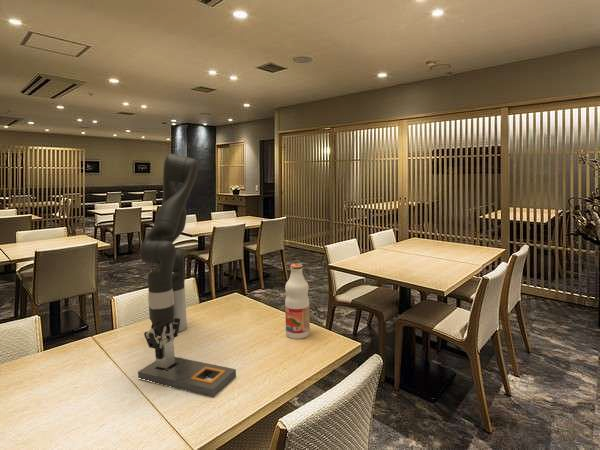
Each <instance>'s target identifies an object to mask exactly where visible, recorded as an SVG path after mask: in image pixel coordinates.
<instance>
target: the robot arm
mask: <svg viewBox="0 0 600 450" xmlns="http://www.w3.org/2000/svg"><path fill="white" fill-rule="evenodd" d="M162 171H163V173H162V174H163V175H162V177H163V178H162V179H163V180H162V181H163V182H162V201H161V206H160V207H159V209H158V212H157V213H156V214H157V215H156V217H155V219H154V220H155V221H154V223H153V226H152V228H151V229H149V230H150V231H149V232H148V234H147V235H146V237H145V238H144V239H143V241H142V243H141V245H140V248H139V258H140V259H141V261H142V262H144V263H145V264H154V268H155V270H152V271H150V272H148V275H147V289H148V290H147V291H148V297H147V301H148V314H149V316H148V317H149V320H150V322H151V327H150V330H149V331H145V332H144V334H143V335H144V338H145V340H146V342H147V346H148V348H149V349H154V353H155V354H156V355H155V354H154V355H155V359H156V358H157V359H162V358H163V348H162V344H163V340H164V338H169V339H173V340H175V339H176V338H177V337H178V336H179V332H182V331H185V330H187V328H188V322H187V321H188V319H187V305H186V302H187V301H186V291H185V290H186V287H185V256H184V252H183V251H182V249H180V248H176V246H175V244H174V242H175V241H176V240H177V239H178V238H179V237H180V235H181V234H182V233H183V231H184V229H185V227H186V223H187V215H188V213H187V209H186V204H187V201H188V199H189V197H190V194H191V192H192V189H193V187H194V184H195V182H196V180H197V176H198V171H199V162H198V160H197V159H195V158H192V157H188V156H184V155H179V154H174V153H168V154H167V156H165V159H164V162H163V170H162ZM175 183H179V184H182V186H181V187H180V188H179V190H178V191H177V189H176V186H175V185H176V184H175ZM158 341H159V344H158Z"/></svg>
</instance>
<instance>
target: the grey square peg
mask: <svg viewBox="0 0 600 450" xmlns="http://www.w3.org/2000/svg"><path fill="white" fill-rule="evenodd" d="M174 340H175V339H174ZM174 340H173V339H169V338H164V340H163V344H162V348H163V358H162V359H157V358H156V357H155V361H156V367H161V368H165V369H164V370H167V369H168V367H170V366H171V365H173V364H174V363H175V357H176V356H175V344H174ZM158 344H159V341H158ZM154 355H156V354H154Z"/></svg>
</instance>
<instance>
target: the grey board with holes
mask: <svg viewBox="0 0 600 450" xmlns="http://www.w3.org/2000/svg"><path fill="white" fill-rule="evenodd" d="M167 369H168V370H166V369H165V368H161V367H156V360H154V361H153V362H151V363H149V364H147V366H145V367H142V368H141V369H139V370H138V371H137V375H138V377H137V378H141V379H145V380H149V381H152V382H155V383H154V384H156V383H159V384H158V385H160V384H163V385H162V386H164V385H167V386H166V387H169V386H171V387H170V388H173V387H174V388H173V389H177V388H178V389H177V390H181V389H182V390H181V391H185V390H186V392H189V391H190V392H189V393H193V392H194V394H197V395H198V394H199V395H202V396H207V397H210V398H215V397H216V396H217V395H218V394H219V393H220V392H221V391H222V390H224V388H226V387H227V386H228V385H229V384H230V383H231V382H232V381H233V380H234V379H236V377H237V370H236V369H237V368H231V367H228V366H221V365H217V364H212V363H208V362H203V361H197V360H193V359H188V358H183V357H180V356H179V357H177V356H175V363H174V364H173V365H171V366H170V367H168V368H167ZM206 378H210V380H208V379H206ZM152 382H151V383H152Z"/></svg>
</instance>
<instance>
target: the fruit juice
mask: <svg viewBox="0 0 600 450" xmlns="http://www.w3.org/2000/svg"><path fill="white" fill-rule="evenodd" d="M289 269H290V275H289V278H288V280H287V281H286V282H285V286H284V287H285V288H284V290H285V293H286V296H285V300H284V302H285V303H284V305H285V309H284V311H285V334H286V336H287V337H288V338H290V339H294V340H300V339H305V338H307V337H308V336H310V333H311V331H310V329H311V327H310V298H309V296H308V295H309V294H308V293H309V282H308V281H307V280H306V279H305V277H304V273H303V269H304V265H303V264H302V263H292V264H290V266H289Z"/></svg>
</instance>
